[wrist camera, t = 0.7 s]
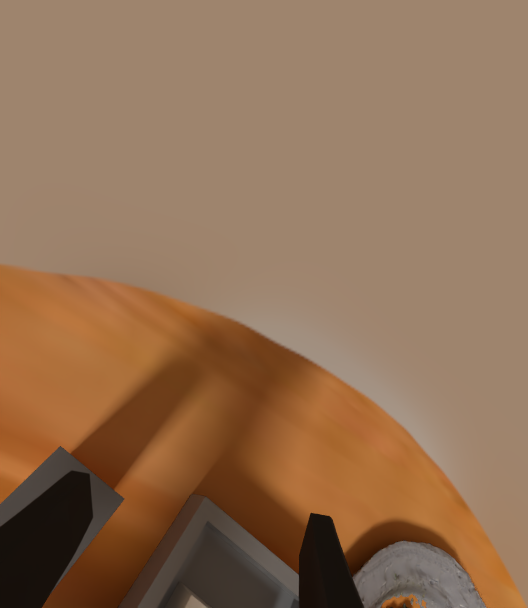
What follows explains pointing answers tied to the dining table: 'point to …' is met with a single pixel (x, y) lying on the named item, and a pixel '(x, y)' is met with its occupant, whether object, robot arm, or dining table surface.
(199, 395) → the dining table surface
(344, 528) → the dining table surface
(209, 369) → the dining table surface
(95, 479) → the block
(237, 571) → the caddy
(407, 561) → the food plate
